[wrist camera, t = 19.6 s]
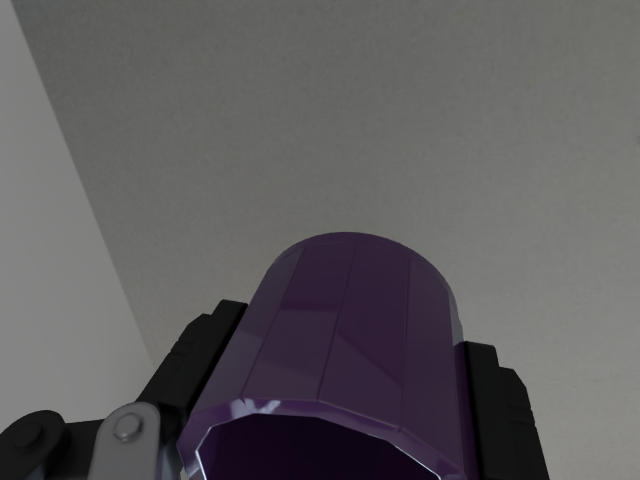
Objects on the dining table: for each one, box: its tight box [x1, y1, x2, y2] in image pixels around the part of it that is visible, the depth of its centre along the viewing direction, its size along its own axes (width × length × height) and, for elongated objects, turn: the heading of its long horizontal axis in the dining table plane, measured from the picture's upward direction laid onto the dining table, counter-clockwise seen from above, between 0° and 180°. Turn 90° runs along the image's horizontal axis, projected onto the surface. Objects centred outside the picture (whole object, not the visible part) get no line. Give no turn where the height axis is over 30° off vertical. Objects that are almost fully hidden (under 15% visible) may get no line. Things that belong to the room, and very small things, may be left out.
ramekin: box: [176, 232, 480, 480], centre depth 10 cm, size 6×6×5 cm
